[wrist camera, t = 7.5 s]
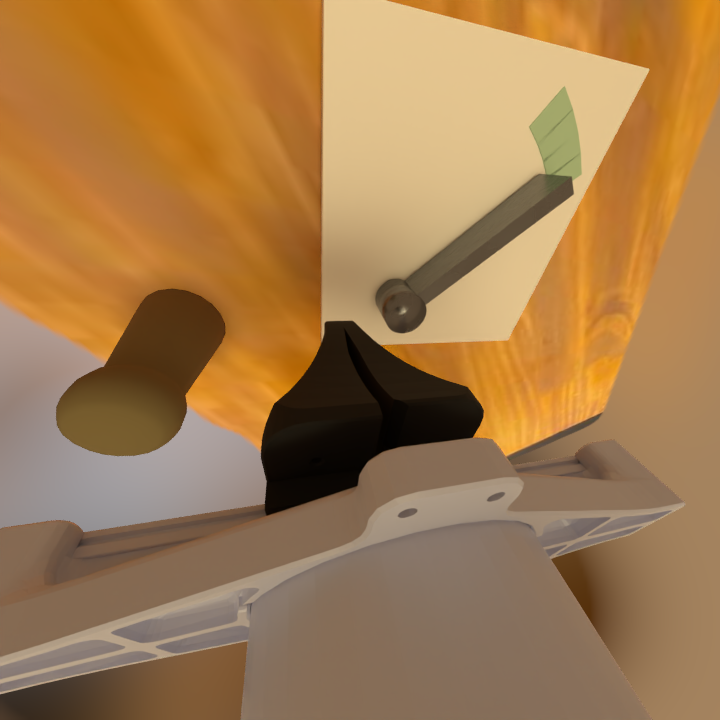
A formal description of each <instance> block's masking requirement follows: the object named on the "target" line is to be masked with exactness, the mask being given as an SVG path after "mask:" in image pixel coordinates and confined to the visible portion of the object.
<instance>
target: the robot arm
mask: <svg viewBox="0 0 720 720" xmlns="http://www.w3.org/2000/svg"><path fill="white" fill-rule="evenodd" d="M483 413H484V410H483V408H482V406H481V404H480V403H479V402H478V400H477V399H476V398H475V396H474V395H473V394H472V392H471V391H470V390H469V388H468V387H466V386H462V385H459V384H456V383H453V382H449V381H446V380H443V379H440V378H438V377H435V376H433V375H430V374H428V373H426V372H423V371H421V370H419V369H417V368H415V367H413V366H411V365H409V364H407V363H406V362H404V361H402V360H401V359H399V358H397V357H396V356H394V355H393V354H391V353H390V352H388V351H387V350H386V349H384V348H383V347H382V346H380V345H379V344H378V343H377V342H375V341H374V340H373V339H372V338H371V337H370V336H369V335H368V334H366V333H365V332H364V331H363V330H362V329H361V328H360V327H359V326H358V325H357V324H356V323H355V322H354V321H326V322H325V323H324V337H323V340H322V343H321V346H320V348H319V350H318V352H317V355H316V357H315V358H314V360H313V362H312V364H311V365H310V367H309V368H308V370H307V371H306V372H305V374H304V375H303V376H302V378H301V379H300V380H299V381H298V382H297V383H296V384H295V385H294V386H293V388H292V389H291V390H290V391H289V392H288V393H286V394H285V395H284V396H283V397H282V398H281V399H279V400H278V401H277V402H276V403H274V405H273V408H272V410H271V412H270V415H269V417H268V420H267V423H266V426H265V429H264V433H263V438H262V447H261V460H262V464H263V468H264V472H265V476H266V480H267V486H266V498H265V504H263V505H256V506H250V507H244V508H238V509H230V510H224V511H218V512H212V513H205V514H198V515H192V516H186V517H179V518H173V519H167V520H160V521H154V522H148V523H141V524H135V525H129V526H122V527H116V528H109V529H103V530H96V531H90V532H83V531H82V529H81V528H80V527H79V526H78V525H76V524H75V523H72V522H70V521H61V520H56V521H46V522H40V523H32V524H25V525H18V526H12V527H5V528H1V529H0V694H2V693H6V692H10V691H15V690H19V689H23V688H27V687H31V686H35V685H39V684H43V683H48V682H52V681H56V680H61V679H65V678H70V677H74V676H78V675H83V674H88V673H92V672H97V671H102V670H106V669H111V668H116V667H121V666H125V665H130V664H135V663H140V662H145V661H150V660H155V659H160V658H165V657H170V656H175V655H180V654H185V653H190V652H195V651H200V650H205V649H210V648H215V647H220V646H225V645H230V644H234V643H240V642H245V641H248V647H247V658H246V669H245V680H244V691H243V701H242V712H241V720H652V718H651V717H650V715H649V713H648V712H647V710H646V709H645V707H644V706H643V704H642V702H641V701H640V699H639V698H638V696H637V695H636V693H635V692H634V690H633V688H632V687H631V685H630V684H629V682H628V681H627V679H626V677H625V676H624V674H623V673H622V671H621V669H620V668H619V666H618V665H617V663H616V661H615V660H614V659H613V657H612V655H611V654H610V652H609V650H608V649H607V647H606V646H605V644H604V643H603V641H602V639H601V638H600V636H599V635H598V633H597V632H596V630H595V628H594V627H593V625H592V624H591V622H590V620H589V619H588V618H587V616H586V614H585V613H584V611H583V609H582V608H581V606H580V605H579V603H578V602H577V600H576V598H575V597H574V595H573V594H572V592H571V590H570V589H569V587H568V586H567V584H566V583H565V581H564V579H563V578H562V577H561V575H560V573H559V572H558V571H557V568H556V567H555V565H554V564H553V562H552V561H551V558H554V557H557V556H560V555H563V554H566V553H569V552H573V551H576V550H579V549H582V548H585V547H589V546H592V545H595V544H599V543H602V542H606V541H609V540H613V539H617V538H620V537H624V536H628V535H630V534H632V533H634V532H636V531H638V530H640V529H642V528H644V527H646V526H648V525H649V524H651V523H653V522H655V521H657V520H659V519H661V518H662V517H665V516H666V515H668V514H670V513H672V512H674V511H676V510H678V509H680V508H681V507H683V506H685V502H684V501H683V500H681V498H679V497H678V496H677V495H676V494H675V493H674V492H673V491H672V490H670V489H669V488H668V487H667V486H666V485H665V484H664V483H662V482H661V481H660V480H659V479H658V478H657V477H656V476H655V475H654V474H653V473H651V472H650V471H649V470H648V469H647V468H645V466H644V465H642V464H641V463H640V462H639V461H638V460H637V459H636V458H634V457H633V456H632V455H631V454H630V453H629V452H628V451H627V450H626V449H624V448H623V447H622V446H621V445H620V444H619V443H618V442H617V441H615V440H612V439H610V440H603V441H596V442H591V443H588V444H586V445H584V446H583V447H581V448H580V449H579V450H578V451H577V452H576V454H575V456H569V457H563V458H557V459H550V460H544V461H537V462H531V463H524V464H518V465H511V463H510V462H509V460H508V459H507V458H506V456H505V455H504V453H503V452H502V450H501V449H500V448H499V446H498V445H497V444H496V443H495V442H494V441H493V440H492V439H487V438H473V436H474V434H475V433H476V431H477V429H478V428H479V426H480V424H481V421H482V419H483Z"/></svg>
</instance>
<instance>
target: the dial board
mask: <svg viewBox="0 0 720 720" xmlns="http://www.w3.org/2000/svg"><path fill="white" fill-rule="evenodd" d="M649 70H650V69H648V68H644V67H640V66H636V65H632V64H628V63H624V62H621V61H617V60H613V59H609V58H605V57H601V56H598V55H594V54H590V53H586V52H582V51H578V50H575V49H571V48H567V47H563V46H559V45H555V44H551V43H548V42H544V41H540V40H536V39H532V38H528V37H525V36H521V35H517V34H513V33H509V32H505V31H501V30H498V29H494V28H490V27H486V26H482V25H478V24H475V23H471V22H467V21H463V20H459V19H455V18H451V17H448V16H444V15H440V14H436V13H432V12H428V11H425V10H421V9H417V8H413V7H409V6H405V5H402V4H398V3H394V2H390V1H386V0H322V141H321V343H322V340H323V337H324V323H325V322H326V321H354V322H355V323H356V324H357V325H358V326H359V327H360V328H361V329H362V330H363V331H364V332H365V333H366V334H368V335H369V336H370V337H371V338H372V339H373V340H374V341H375V342H377V343H378V344H379V345H390V344H418V343H446V342H474V341H502V340H508V339H509V337H510V335H511V333H512V331H513V329H514V327H515V326H516V324H517V322H518V320H519V318H520V316H521V314H522V312H523V310H524V308H525V306H526V305H527V303H528V301H529V299H530V297H531V295H532V293H533V291H534V289H535V287H536V285H537V284H538V282H539V280H540V278H541V276H542V274H543V272H544V270H545V268H546V266H547V264H548V263H549V261H550V259H551V257H552V255H553V253H554V251H555V249H556V247H557V245H558V243H559V242H560V240H561V238H562V236H563V234H564V232H565V230H566V228H567V226H568V224H569V222H570V221H571V219H572V217H573V215H574V213H575V211H576V209H577V207H578V205H579V203H580V201H581V200H582V198H583V196H584V194H585V192H586V190H587V188H588V186H589V184H590V182H591V180H592V179H593V177H594V175H595V173H596V171H597V169H598V167H599V165H600V163H601V161H602V159H603V158H604V156H605V154H606V152H607V150H608V148H609V146H610V144H611V142H612V140H613V138H614V137H615V135H616V133H617V131H618V129H619V127H620V125H621V123H622V121H623V119H624V117H625V116H626V114H627V112H628V110H629V108H630V106H631V104H632V102H633V100H634V98H635V96H636V95H637V93H638V91H639V89H640V87H641V85H642V83H643V81H644V79H645V77H646V75H647V74H648V72H649ZM538 174H548V175H560V176H572V182H573V190H574V195H572V196H571V197H570V198H568V199H567V200H566V201H564V202H563V203H562V204H560V205H559V206H558V207H556V208H555V209H554V210H552V211H551V212H550V213H548V214H547V215H546V216H544V217H543V218H542V219H540V220H539V221H538V222H536V223H535V224H533V225H532V226H531V227H529V228H528V229H527V230H525V231H524V232H523V233H521V234H520V235H519V236H517V237H516V238H515V239H513V240H512V241H511V242H509V243H508V244H507V245H505V246H504V247H503V248H501V249H500V250H499V251H497V252H496V253H495V254H493V255H492V256H491V257H489V258H488V259H487V260H485V261H484V262H483V263H481V264H480V265H479V266H477V267H476V268H475V269H473V270H472V271H470V272H469V273H468V274H466V275H465V276H464V277H462V278H461V279H460V280H458V281H457V282H456V283H454V284H453V285H452V286H450V287H449V288H448V289H446V290H445V291H444V292H442V293H441V294H440V295H438V296H437V297H436V298H434V299H433V300H432V301H430V302H429V303H428V304H426V308H427V312H426V316H425V319H424V321H423V322H422V323H421V325H420V326H419V327H417V328H416V329H415V330H413V331H411V332H408V333H396V332H393V331H392V330H390V329H389V327H388V326H387V324H386V322H385V320H384V319H383V317H382V315H381V313H380V311H379V309H378V308H377V306H376V302H375V297H376V293H377V291H378V289H379V288H380V286H381V285H382V284H383V283H385V282H386V281H388V280H391V279H402V280H404V281H405V280H406V279H407V278H408V277H410V276H411V275H412V274H413V273H415V272H416V271H417V270H419V269H420V268H421V267H422V266H424V265H425V264H426V263H427V262H429V261H430V260H431V259H432V258H434V257H435V256H436V255H437V254H439V253H440V252H441V251H442V250H444V249H445V248H446V247H447V246H449V245H450V244H451V243H453V242H454V241H455V240H456V239H458V238H459V237H460V236H461V235H463V234H464V233H465V232H466V231H468V230H469V229H470V228H471V227H473V226H474V225H475V224H476V223H478V222H479V221H480V220H481V219H483V218H484V217H485V216H487V215H488V214H489V213H490V212H492V211H493V210H494V209H495V208H497V207H498V206H499V205H500V204H502V203H503V202H504V201H505V200H507V199H508V198H509V197H510V196H512V195H513V194H514V193H515V192H517V191H518V190H519V189H521V188H522V187H523V186H524V185H526V184H527V183H528V182H529V181H531V180H532V179H533V178H534V177H536V176H537V175H538Z"/></svg>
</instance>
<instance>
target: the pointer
mask: <svg viewBox="0 0 720 720" xmlns="http://www.w3.org/2000/svg"><path fill="white" fill-rule="evenodd" d="M572 195H574V190H573V182H572V176H560V175H548V174H538V175H537V176H536V177H534V178H533V179H532V180H531V181H529V182H528V183H527V184H526V185H524V186H523V187H522V188H521V189H519V190H518V191H517V192H515V193H514V194H513V195H512V196H510V197H509V198H508V199H507V200H505V201H504V202H503V203H502V204H500V205H499V206H498V207H497V208H495V209H494V210H493V211H492V212H490V213H489V214H488V215H487V216H485V217H484V218H483V219H481V220H480V221H479V222H478V223H476V224H475V225H474V226H473V227H471V228H470V229H469V230H468V231H466V232H465V233H464V234H463V235H461V236H460V237H459V238H458V239H456V240H455V241H454V242H453V243H451V244H450V245H449V246H447V247H446V248H445V249H444V250H442V251H441V252H440V253H439V254H437V255H436V256H435V257H434V258H432V259H431V260H430V261H429V262H427V263H426V264H425V265H424V266H422V267H421V268H420V269H419V270H417V271H416V272H415V273H413V274H412V275H411V276H410V277H408V278H407V279H406V280H405V281H404V280H402V279H391V280H388V281H386V282H385V283H383V284H382V285H381V286H380V288H379V289H378V291H377V293H376V297H375V302H376V306H377V308H378V309H379V311H380V313H381V315H382V317H383V319H384V320H385V322H386V324H387V326H388V327H389V329H390V330H392V331H393V332H396V333H408V332H411V331H413V330H415V329H416V328H417V327H419V326H420V325H421V323H422V322H423V321H424V319H425V316H426V312H427V308H426V304H428V303H429V302H430V301H432V300H433V299H434V298H436V297H437V296H438V295H440V294H441V293H442V292H444V291H445V290H446V289H448V288H449V287H450V286H452V285H453V284H454V283H456V282H457V281H458V280H460V279H461V278H462V277H464V276H465V275H466V274H468V273H469V272H470V271H472V270H473V269H475V268H476V267H477V266H479V265H480V264H481V263H483V262H484V261H485V260H487V259H488V258H489V257H491V256H492V255H493V254H495V253H496V252H497V251H499V250H500V249H501V248H503V247H504V246H505V245H507V244H508V243H509V242H511V241H512V240H513V239H515V238H516V237H517V236H519V235H520V234H521V233H523V232H524V231H525V230H527V229H528V228H529V227H531V226H532V225H533V224H535V223H536V222H538V221H539V220H540V219H542V218H543V217H544V216H546V215H547V214H548V213H550V212H551V211H552V210H554V209H555V208H556V207H558V206H559V205H560V204H562V203H563V202H564V201H566V200H567V199H568V198H570V197H571V196H572Z"/></svg>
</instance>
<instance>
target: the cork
mask: <svg viewBox="0 0 720 720" xmlns="http://www.w3.org/2000/svg"><path fill="white" fill-rule="evenodd" d="M224 335H225V323H224V321H223V319H222V317H221V314H220V313H219V312H218V311H217V310H216V308H215V307H214V306H213V305H212V304H211V303H209V302H208V301H206V300H205V299H203V298H202V297H201V296H198V295H196V294H193V293H191V292H188V291H184V290H177V289H166V290H158V291H156V292H154V293H152V294H150V295H148V296H147V297H146V298H145V299H144V300H143V302H142V303H141V304H140V306H139V307H138V309H137V311H136V313H135V314H134V316H133V318H132V319H131V321H130V323H129V325H128V326H127V328H126V330H125V331H124V333H123V335H122V337H121V338H120V340H119V342H118V343H117V345H116V347H115V349H114V350H113V352H112V354H111V356H110V357H109V359H108V361H107V362H106V364H105V366H104V367H101V368H98V369H97V370H94V371H92V372H90V373H88V374H86V375H84V376H82V377H81V378H79V379H77V380H76V381H75V382H74V383H73V384H72V385H71V386H70V387H69V388H68V389H67V391H66V392H65V393H64V394H63V395H62V397H61V398H60V401H59V403H58V405H57V407H56V408H57V409H56V420H57V426H58V428H59V430H60V431H61V433H62V434H63V436H65V437H66V438H67V439H69V440H70V441H71V442H73V443H74V444H76V445H78V446H81V447H82V448H85V449H87V450H89V451H93V452H96V453H100V454H105V455H114V456H135V455H140V454H145V453H149V452H151V451H154V450H156V449H158V448H160V447H162V446H163V445H165V444H166V443H167V442H169V441H170V440H171V439H172V438H173V437H174V436H175V435H176V434H177V433H178V431H179V430H180V428H181V426H182V423H183V421H184V418H185V415H186V412H187V403H186V397H185V395H186V393H187V392H188V390H189V389H190V387H191V386H192V385H193V383H194V382H195V380H196V379H197V377H198V376H199V374H200V373H201V372H202V370H203V369H204V367H205V366H206V364H207V363H208V361H209V360H210V358H211V357H212V356H213V354H214V353H215V351H216V350H217V348H218V347H219V345H220V344H221V343H222V340H223V338H224Z"/></svg>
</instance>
